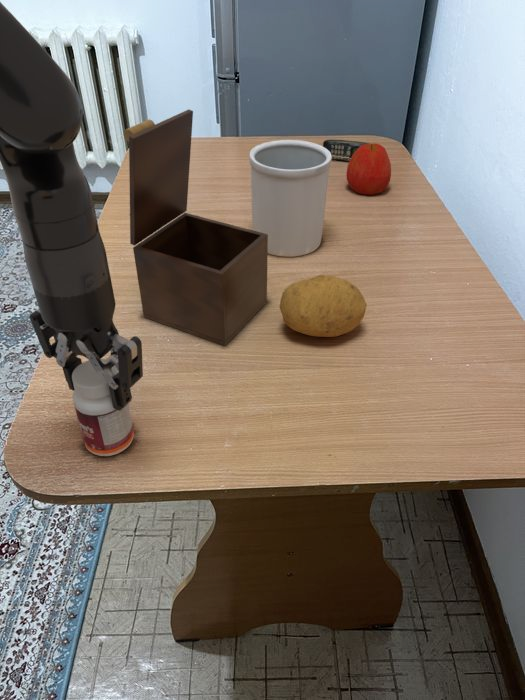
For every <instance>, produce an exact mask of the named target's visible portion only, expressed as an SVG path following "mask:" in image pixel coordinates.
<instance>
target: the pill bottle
mask: <svg viewBox="0 0 525 700" xmlns="http://www.w3.org/2000/svg"><path fill="white" fill-rule="evenodd" d="M106 359H107V358H101V361H102V362H103V361H105V360H106ZM111 370H112V372H113V374H114V375H116V374H117V373H118V372H119V371H118V370H117V368H116V366H115V365H114V366H113V367H112V369H111ZM72 381H73V385H74V391H73V392H72V402H73V408H74V410H75V411H74V412H75V414H76V418H77V421H78V425H79V429H80V432H81V437H82V440H83V443H84V446H85V448H86V450H88V452H90V453H92V454H93V455H95V456H99V457H110V456H114V455H117V454H120V453H121V452H123V451H125V450H126V449H127V448H129V447H130V445H131V444H132V442H133V439H134V436H135V433H134V432H135V431H134V424H133V420H132V415H131V414H132V413H131V409H130V405H129V404H130V402H129V403H128V404H127V405H126V406H125V407H124V408H123V409H122V410H120V411H119V410H116V409H114V408H113V404H112V400H111V395H110V391H109V384H108V383H107V381H106V379H105V378H104V376H103V374H102V373H97V372H96V371H95V369H94V368H93V366H92V364H91V363H90V361H89V359H87V360H86V361H84V362H83V361H82V364H80V365H79V366H77V367H76V368H75V370H74V371H73V373H72Z"/></svg>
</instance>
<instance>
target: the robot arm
mask: <svg viewBox="0 0 525 700" xmlns="http://www.w3.org/2000/svg"><path fill="white" fill-rule="evenodd" d="M82 124H83V105H82V102H81V97H80V95H79V92H78V89H77V88H76V87H75V85H74V82H73V81H72V80H71V79H70V77H69V76H68V75H67V74H66V72H65V71H64V70H63V69H62V68H61V66H60V65H59V64H58V63H57V62H56V61H55V60H54V58H53V57H52V56H51V55H50V54H49V53H48V51H47V50H46V49H45V48H44V47H43V46H42V45H41V44H40V43H39V42H38V41H37V39H36V38H35V37H34V36H33V35H32V34H31V33H30V31H28V30H27V28H25V26H24V25H23V24H22V23H21V22H20V21H19V20H18V19H17V18H16V17H15V16H14V14H13V13H12V12H11V11H10V10H9V9H8V8H7V7H6V6H5V5H4V4H3V3H2V2H1V1H0V165H1V167H2V170H3V172H4V176H5V178H6V183H7V186H8V191H9V196H10V201H11V206H12V210H13V213H14V218H15V221H16V224H17V228H18V231H19V234H20V237H21V241H22V246H23V255H24V261H25V266H26V268H27V272H28V276H29V279H30V282H31V285H32V289H33V292H34V296H35V300H36V303H37V306H38V308H37V309H35V310H34V311H33V312H32V313H30V314H29V320H30V323H31V325H32V327H33V329H34V333H35V334H36V337H37V339H38V342H39V344H40V347H41V350H42V352H43V354H44V356H45V357H46V358H48V359H52V358H53V357H54V359H55V362H56V365H58V366H59V367H61V368H62V371H63V375H64V378H65V381H66V383H67V386H68V389H69V390H71V391H73V392H74V385H73V381H72V373H73V371H74V370H75V368H76V367H77V366H79V365H80V364H82V363H83V361H82V358H80V357H78V356H82V357H84V358H85V359H87V360H89V361H90V363H91V364H92V366H93V368H94V369H95V371H96V372H97V373H102V374H103V376H104V378H105V379H106V381H107V383H108V384H109V391H110V395H111V400H112V404H113V408H114V409H116V410H119V411H120V410H122V409H123V408H124V407H125V406H126V405H127V404H128V403H129V404H130V402H132V400H133V396H132V390H131V388H132V387H133V386H135V384H137V382H139V381H140V380H141V379H142V378H143V377H144V371H143V368H144V367H143V366H144V365H143V345H142V344H143V343H142V340H141V338H140V337H138V336H135V335H134V336H131V338H130V339H128V338H126V337H124V336H122V335H120V334H119V331H118V328H117V327H116V325H115V323H114V321H113V319H114V314H115V310H116V299H115V292H114V288H113V282H112V278H111V273H110V268H109V262H108V257H107V251H106V247H105V244H104V241H103V238H102V236H101V235H102V234H101V232H100V229H99V228H100V227H99V223H98V218H97V213H96V208H95V207H96V206H95V203H94V199H93V194H92V190H91V186H90V184H89V181H88V178H87V176H86V174H85V172H84V171H83V169H82V168H81V165H80V163H79V161H78V158H77V154H76V151H75V145H74V142H75V140H76V139H77V137H78V136H79V134H80V131H81V128H82ZM52 337H53V340H54V341H53V343H51V341H50V339H51V338H52ZM109 352H110V355H109V356H108V357H107V358H105V359H106V360H105V361H103V362H102V361H101V359H103V358H104V357H105V356H106V355H107V354H108V353H109ZM114 365H115V366H116V368H117V370H118V373H117V374H116V375H114V374H113V372H112V370H111V369H112V367H113V366H114Z"/></svg>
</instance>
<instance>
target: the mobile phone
mask: <svg viewBox="0 0 525 700" xmlns="http://www.w3.org/2000/svg"><path fill="white" fill-rule="evenodd" d="M364 144H372V143H371V142H365V141H356V140H347V139H346V140H345V139H325V140H324V141H323V142H322V146H323V147H324V148H326V149H327V150H329V151H330V153H331V155H335V156H341V157H349V158H341V157H332V160H331V161H340V162H348V163H349V161H350V158H351V157H352V155H353V154H354V153H355V151H356V150H357V149H358V148H359V147H360V146H362V145H364Z"/></svg>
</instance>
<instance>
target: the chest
mask: <svg viewBox="0 0 525 700" xmlns="http://www.w3.org/2000/svg"><path fill="white" fill-rule="evenodd" d="M132 250H133V257H134V263H135V270H136V276H137V283H138V290H139V295H140V302H141V308H142V313H143V318H145V319H147V320H150V321H153V322H155V323H158V324H159V323H160V324H163V325H165V326H168V327H170V328H174V329H176V330H178V331H182V332H184V333H187V334H190V335H193V336H196V337H198V338H201V339H203V340H207V341H210V342H212V343H216V344H219V345H220V346H224V347H225V346H227V344H229V342H230V341H232V340H233V339H234V337H235V336H236V335H237V334H238V333H239V332H240V331H241V330H242V329H243V328H244V327H245V326H246V325H247V324H248V323H249V321H250V320H252V318H254V316H256V315H257V313H258V312H259V311H261V309H262V308H263V307H264V306H265V305H266V304H267V303H268V254H269V253H268V234H265V233H261V232H257V231H253V229H249V228H245V227H241V226H238V225H233V224H230V223H226V222H222V221H219V220H215V219H211V218H206V217H203V216H199V215H196V214H192V213H188V212H184V213H183V214H181V215H180V216H178V217H177V218H175V219H174V220H172V221H171V222H169V223H168V224H166V225H165V226H163V227H162V228H160V229H159V230H157V231H156V232H154V233H153V234H151V235H150V236H148V237H147V238H145V239H144V240H142V241H141V242H139V243H138V244H136V245H135V246H133V247H132Z"/></svg>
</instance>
